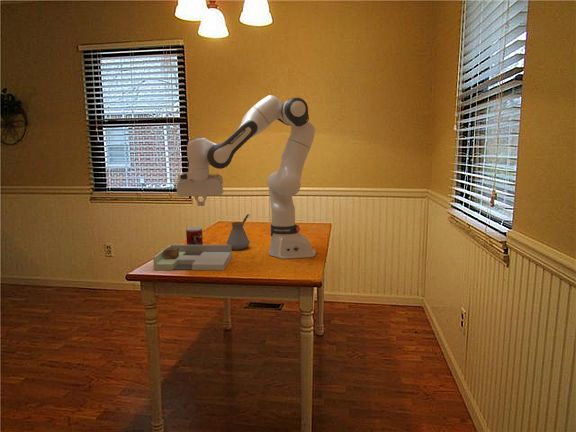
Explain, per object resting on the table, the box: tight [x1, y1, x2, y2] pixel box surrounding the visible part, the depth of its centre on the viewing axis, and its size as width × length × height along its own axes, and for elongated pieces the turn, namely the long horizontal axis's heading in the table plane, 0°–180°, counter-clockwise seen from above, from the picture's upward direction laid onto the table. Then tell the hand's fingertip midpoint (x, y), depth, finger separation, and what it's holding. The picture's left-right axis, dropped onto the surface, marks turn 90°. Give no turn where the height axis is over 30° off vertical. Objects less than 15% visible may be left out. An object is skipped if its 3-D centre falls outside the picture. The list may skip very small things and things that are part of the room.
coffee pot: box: [226, 213, 251, 251], centre depth 204 cm, size 21×12×15 cm, turn 164°
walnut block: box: [164, 246, 179, 259], centre depth 175 cm, size 5×5×4 cm
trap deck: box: [152, 244, 233, 271], centre depth 175 cm, size 29×21×6 cm
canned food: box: [185, 226, 204, 245], centre depth 196 cm, size 8×8×11 cm
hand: (201, 205), depth 179 cm, fingers closed
